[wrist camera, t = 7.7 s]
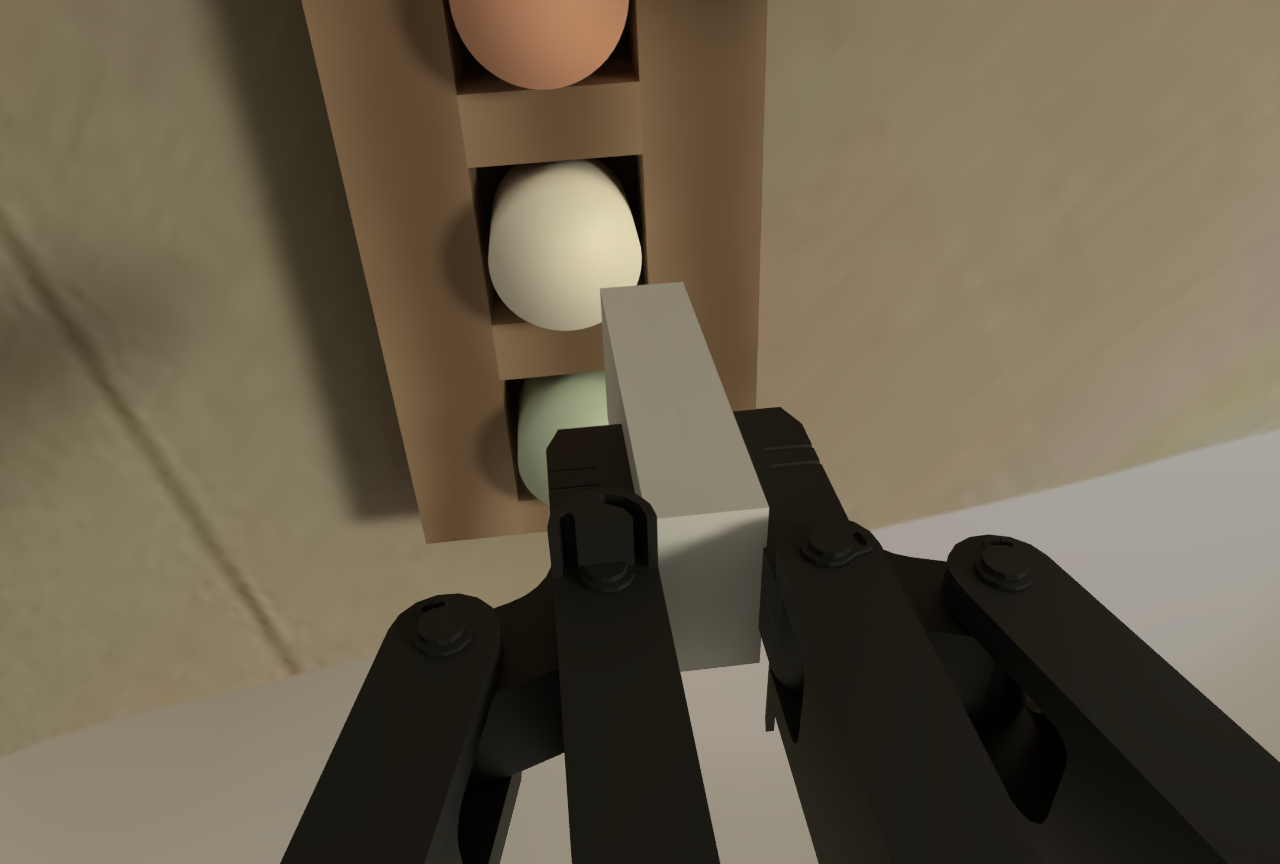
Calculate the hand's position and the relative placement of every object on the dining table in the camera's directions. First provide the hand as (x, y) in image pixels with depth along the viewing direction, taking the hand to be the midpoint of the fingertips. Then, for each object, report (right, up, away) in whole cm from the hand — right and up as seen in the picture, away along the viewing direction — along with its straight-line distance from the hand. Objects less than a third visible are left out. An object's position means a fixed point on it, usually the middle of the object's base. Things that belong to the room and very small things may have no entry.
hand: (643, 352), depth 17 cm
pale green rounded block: (-2, 0, +16) cm, 16 cm away
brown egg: (-3, +11, +8) cm, 14 cm away
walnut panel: (-3, +6, +13) cm, 15 cm away
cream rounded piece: (-3, +5, +12) cm, 14 cm away
